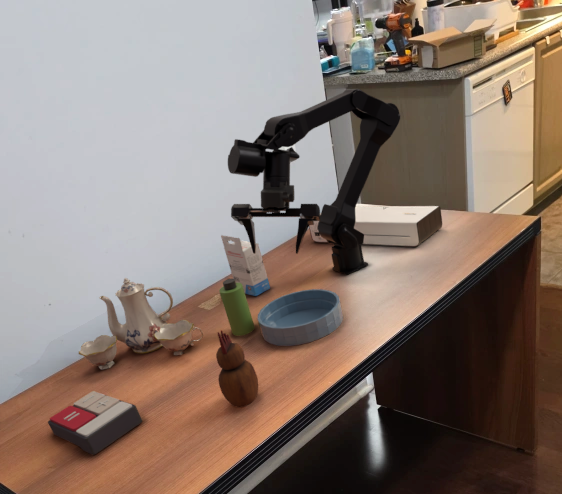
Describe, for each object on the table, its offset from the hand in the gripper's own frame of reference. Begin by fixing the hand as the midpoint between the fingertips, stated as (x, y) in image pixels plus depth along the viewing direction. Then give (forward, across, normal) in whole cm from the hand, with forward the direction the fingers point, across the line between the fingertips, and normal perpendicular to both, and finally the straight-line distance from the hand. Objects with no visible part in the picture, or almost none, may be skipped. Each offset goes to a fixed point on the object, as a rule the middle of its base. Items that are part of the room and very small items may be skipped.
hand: (275, 253), depth 141 cm
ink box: (+7, -7, +18) cm, 21 cm away
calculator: (+35, -30, -26) cm, 53 cm away
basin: (+16, +7, -6) cm, 18 cm away
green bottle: (+17, -6, -2) cm, 18 cm away
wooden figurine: (+29, -2, -28) cm, 41 cm away
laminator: (-8, +22, +34) cm, 41 cm away
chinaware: (+22, -28, -1) cm, 35 cm away
